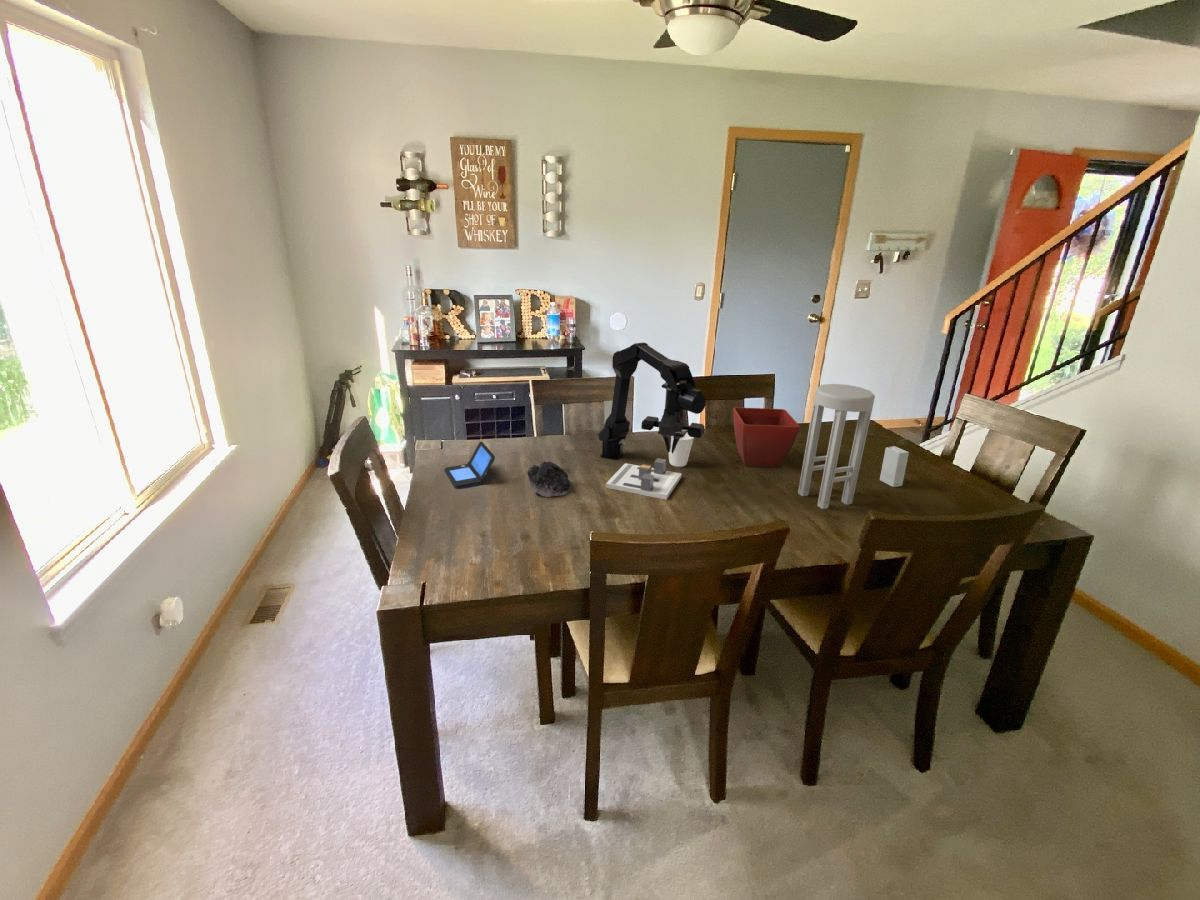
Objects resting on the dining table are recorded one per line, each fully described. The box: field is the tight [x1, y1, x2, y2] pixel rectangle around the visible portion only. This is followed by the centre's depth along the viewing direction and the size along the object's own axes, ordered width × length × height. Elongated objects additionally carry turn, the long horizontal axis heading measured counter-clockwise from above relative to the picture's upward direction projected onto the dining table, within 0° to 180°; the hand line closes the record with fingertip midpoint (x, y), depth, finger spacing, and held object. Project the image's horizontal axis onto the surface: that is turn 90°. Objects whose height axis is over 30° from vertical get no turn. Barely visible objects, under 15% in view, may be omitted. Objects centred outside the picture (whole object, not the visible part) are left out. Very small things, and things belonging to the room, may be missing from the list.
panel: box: [605, 463, 682, 500], centre depth 185 cm, size 20×18×2 cm
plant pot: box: [733, 406, 801, 468], centre depth 202 cm, size 19×19×17 cm
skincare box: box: [879, 445, 910, 488], centre depth 188 cm, size 6×4×12 cm
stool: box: [797, 383, 876, 510], centre depth 171 cm, size 16×16×35 cm
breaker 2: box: [653, 457, 667, 475], centre depth 189 cm, size 3×4×4 cm
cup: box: [668, 432, 695, 468], centre depth 199 cm, size 10×10×11 cm
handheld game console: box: [443, 441, 496, 489], centre depth 185 cm, size 16×13×9 cm
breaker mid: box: [639, 463, 652, 480], centre depth 184 cm, size 3×4×4 cm
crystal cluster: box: [526, 461, 572, 498], centre depth 178 cm, size 13×14×10 cm
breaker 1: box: [641, 474, 654, 491], centre depth 177 cm, size 3×4×4 cm
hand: (670, 452), depth 178 cm, fingers closed
